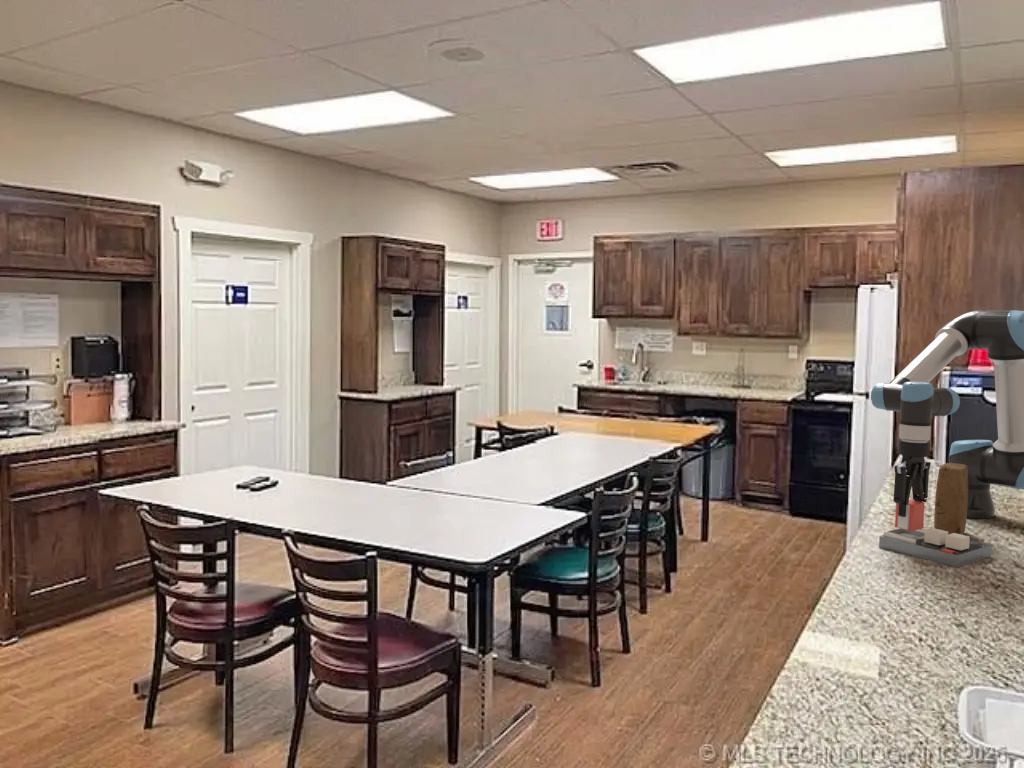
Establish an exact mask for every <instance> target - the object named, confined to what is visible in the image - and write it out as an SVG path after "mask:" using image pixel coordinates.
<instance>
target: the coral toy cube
mask: <svg viewBox="0 0 1024 768" xmlns="http://www.w3.org/2000/svg"><path fill="white" fill-rule="evenodd" d="M925 504H926V502H919V501H915V500H913V499H909V502H908V505H910V516H909V529H908V530H910V531H916V530H919V529H924V522H925V521H924V519H925V518H924V517H925ZM898 510H899V504H898V503H895V516H894V518H895V519H894V528H898ZM901 529H902V528H901ZM906 530H907V529H906Z"/></svg>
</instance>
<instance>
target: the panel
mask: <svg viewBox="0 0 1024 768" xmlns="http://www.w3.org/2000/svg"><path fill="white" fill-rule="evenodd" d="M925 530H926V529H924V528H923V529H919V530H916V531H910V530H906V529H901V528H897V527H895V528H893V529H887V530H884V531H883V535H880V536H879V540H878V547H879V548H881V549H884V550H889V551H892V552H897V553H900V554H905V555H908V556H911V557H917V558H919V559H924V560H927V561H930V562H934V561H935V563H938V562H939V563H940V564H943V565H945V566H946V565H947V566H951V567H954V568H959V567H962V566H966V565H970V564H972V563H976V562H979V561H981V560H984V559H988V558H990V557H992V553H993V551H992V550H993V545H992V544H990V543H989V544H988V543H984V542H980V541H975V540H971V539H970V541H969V548H968V549H964V550H956V549H952V548H948V547H945V544H942V545H936V544H932V543H928V542H924V538H925ZM939 563H938V564H939Z"/></svg>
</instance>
